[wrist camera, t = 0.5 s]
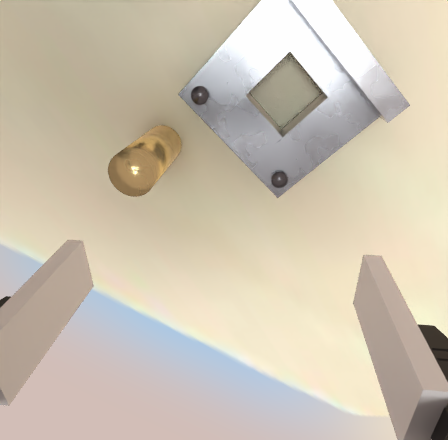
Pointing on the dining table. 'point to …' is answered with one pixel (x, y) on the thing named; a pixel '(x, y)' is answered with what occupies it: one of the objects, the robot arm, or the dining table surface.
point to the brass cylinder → (144, 161)
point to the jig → (314, 66)
